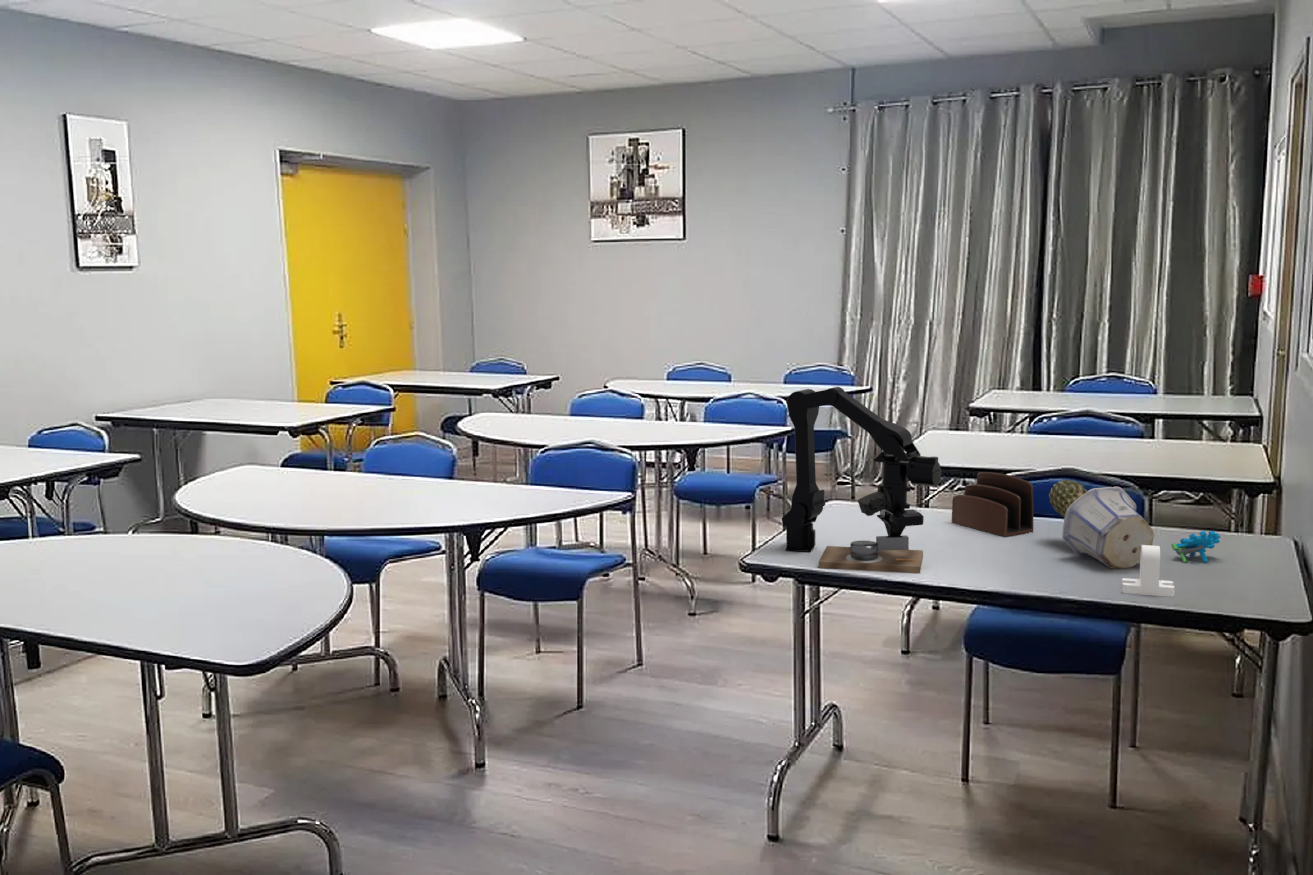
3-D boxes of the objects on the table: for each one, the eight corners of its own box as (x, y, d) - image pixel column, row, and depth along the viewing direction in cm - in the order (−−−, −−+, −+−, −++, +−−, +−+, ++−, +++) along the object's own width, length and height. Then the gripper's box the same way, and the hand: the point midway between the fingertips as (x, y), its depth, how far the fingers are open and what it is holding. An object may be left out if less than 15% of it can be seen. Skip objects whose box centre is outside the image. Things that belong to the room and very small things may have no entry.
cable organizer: (1174, 597, 228) (1176, 550, 226) (1122, 593, 231) (1124, 547, 230) (1172, 590, 233) (1174, 544, 231) (1121, 586, 236) (1123, 541, 235)
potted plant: (1172, 507, 245) (1097, 454, 273) (1099, 516, 242) (1030, 462, 270) (1160, 575, 252) (1088, 517, 279) (1088, 585, 249) (1022, 525, 276)
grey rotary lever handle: (853, 560, 255) (853, 541, 254) (847, 553, 261) (848, 534, 260) (910, 558, 255) (911, 539, 254) (904, 551, 261) (904, 533, 261)
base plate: (818, 568, 256) (818, 560, 256) (827, 551, 271) (827, 544, 270) (920, 573, 250) (920, 565, 250) (923, 556, 264) (923, 549, 264)
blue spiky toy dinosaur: (1211, 547, 260) (1223, 525, 252) (1221, 568, 256) (1234, 547, 248) (1164, 554, 260) (1175, 532, 252) (1174, 576, 257) (1185, 554, 249)
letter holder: (978, 518, 302) (979, 468, 300) (1034, 533, 285) (1035, 479, 283) (950, 523, 298) (951, 472, 296) (1005, 538, 280) (1007, 483, 278)
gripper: (846, 475, 265) (845, 538, 267) (880, 492, 247) (878, 559, 250) (889, 472, 267) (887, 534, 270) (925, 489, 249) (923, 555, 252)
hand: (892, 545), depth 260 cm, fingers closed
